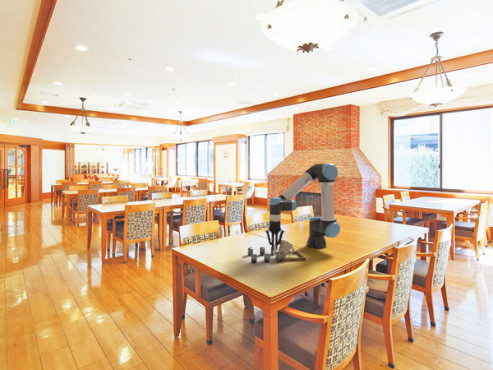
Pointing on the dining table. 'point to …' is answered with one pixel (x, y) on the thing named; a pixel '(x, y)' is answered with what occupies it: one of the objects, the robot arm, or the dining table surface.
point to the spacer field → (266, 256)
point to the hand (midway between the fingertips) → (274, 254)
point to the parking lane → (301, 258)
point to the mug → (285, 248)
